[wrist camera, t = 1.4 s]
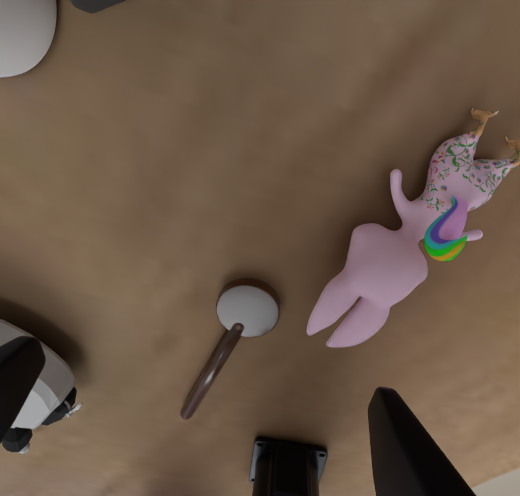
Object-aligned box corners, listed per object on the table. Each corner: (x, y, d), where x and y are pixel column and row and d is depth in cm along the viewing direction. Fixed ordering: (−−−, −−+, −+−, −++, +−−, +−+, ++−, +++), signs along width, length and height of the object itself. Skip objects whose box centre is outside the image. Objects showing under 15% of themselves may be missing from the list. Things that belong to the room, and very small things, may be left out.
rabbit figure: (433, 93, 17) (275, 302, 21) (515, 70, 12) (279, 360, 16) (515, 160, 18) (350, 347, 22) (627, 168, 13) (379, 417, 17)
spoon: (209, 419, 29) (206, 431, 28) (163, 400, 28) (158, 411, 27) (291, 295, 22) (291, 304, 21) (233, 267, 22) (230, 276, 21)
